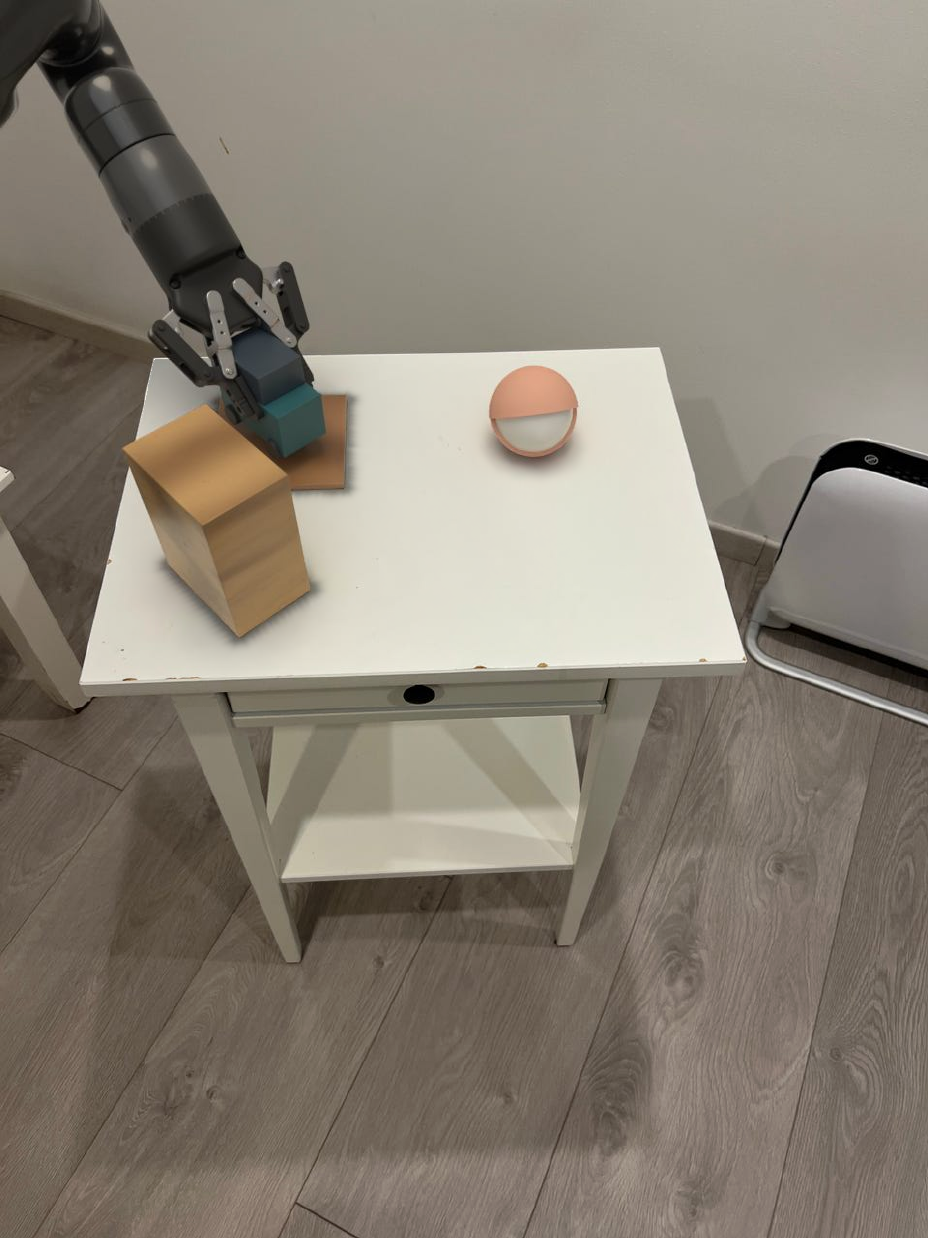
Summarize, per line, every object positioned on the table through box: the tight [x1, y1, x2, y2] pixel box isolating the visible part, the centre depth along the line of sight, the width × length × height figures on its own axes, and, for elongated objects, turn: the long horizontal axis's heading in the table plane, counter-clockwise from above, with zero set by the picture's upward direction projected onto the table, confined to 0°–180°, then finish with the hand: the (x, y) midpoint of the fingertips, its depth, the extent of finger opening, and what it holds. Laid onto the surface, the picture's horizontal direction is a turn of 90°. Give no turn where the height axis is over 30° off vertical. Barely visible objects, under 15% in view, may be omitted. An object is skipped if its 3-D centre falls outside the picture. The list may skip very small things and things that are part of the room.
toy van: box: [219, 324, 326, 459], centre depth 75 cm, size 9×5×8 cm, turn 44°
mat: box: [217, 394, 348, 491], centre depth 80 cm, size 12×12×1 cm
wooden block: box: [122, 403, 311, 638], centre depth 66 cm, size 10×7×13 cm
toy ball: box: [488, 365, 579, 458], centre depth 78 cm, size 8×8×8 cm
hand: (283, 405), depth 75 cm, fingers closed on toy van, 4 cm apart
